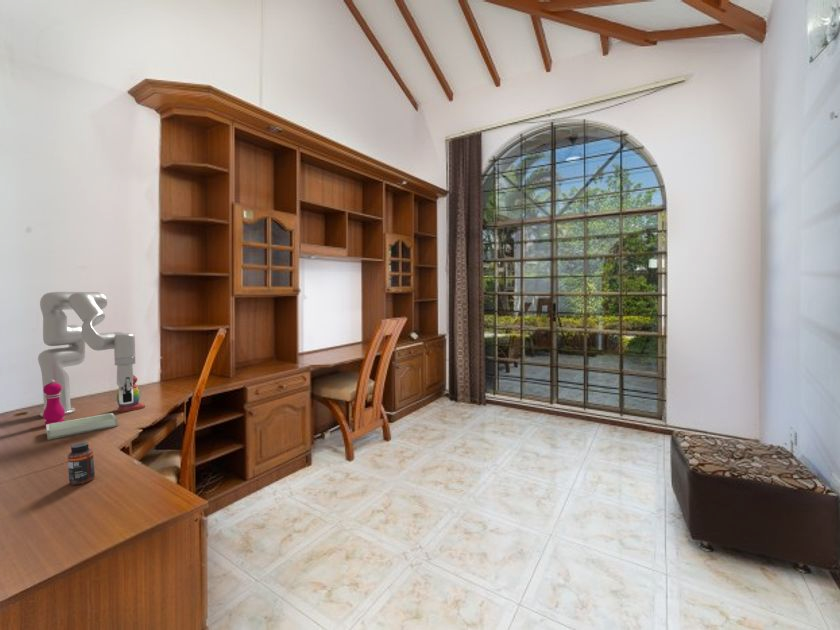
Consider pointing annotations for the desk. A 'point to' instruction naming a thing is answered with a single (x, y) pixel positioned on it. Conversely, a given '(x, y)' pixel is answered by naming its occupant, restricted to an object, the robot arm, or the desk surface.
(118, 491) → the desk surface
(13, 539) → the desk surface
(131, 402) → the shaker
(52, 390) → the pepper mill
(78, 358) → the robot arm
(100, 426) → the tray
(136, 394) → the stacking bear
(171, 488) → the desk surface
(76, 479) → the supplement bottle
